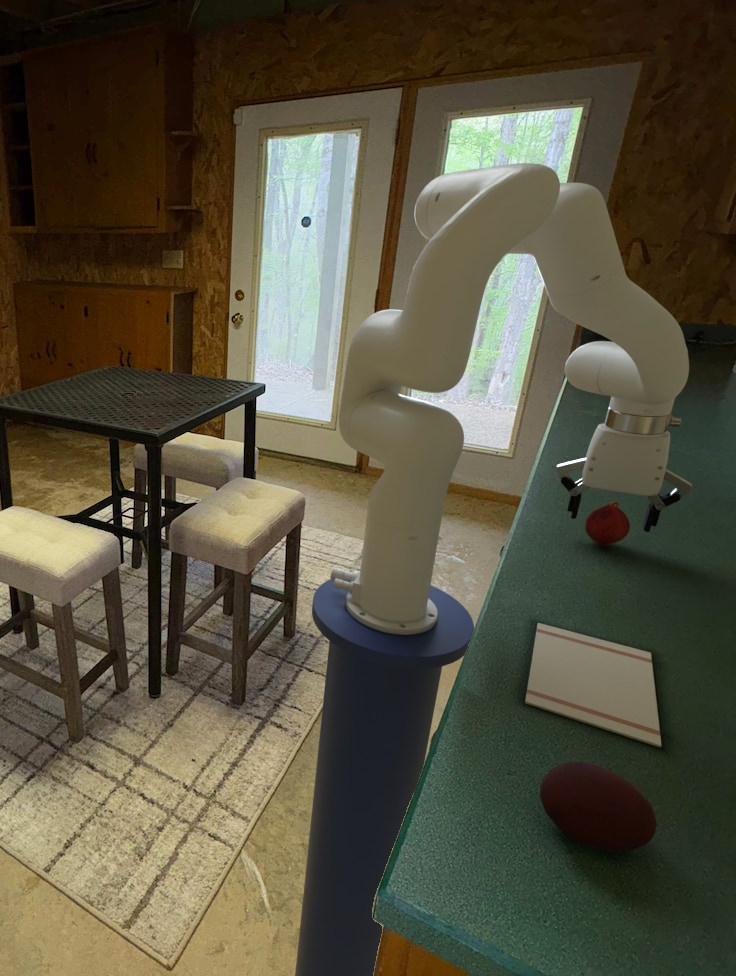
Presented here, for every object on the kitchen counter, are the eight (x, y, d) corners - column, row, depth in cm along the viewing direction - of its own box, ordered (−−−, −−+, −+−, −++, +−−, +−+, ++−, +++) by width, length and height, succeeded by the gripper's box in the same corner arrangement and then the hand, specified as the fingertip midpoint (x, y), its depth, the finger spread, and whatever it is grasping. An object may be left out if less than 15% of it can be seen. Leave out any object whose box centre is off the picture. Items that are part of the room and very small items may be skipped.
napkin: (524, 703, 70) (525, 701, 70) (537, 624, 84) (537, 622, 84) (660, 748, 64) (661, 745, 63) (650, 654, 77) (651, 652, 77)
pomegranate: (602, 556, 100) (615, 510, 97) (571, 540, 105) (582, 497, 102) (631, 551, 101) (645, 506, 98) (599, 535, 107) (611, 492, 104)
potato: (532, 780, 60) (545, 732, 58) (639, 816, 56) (657, 765, 54) (532, 840, 54) (547, 789, 52) (652, 885, 50) (673, 832, 48)
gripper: (706, 422, 94) (674, 525, 100) (569, 409, 103) (548, 503, 109) (713, 436, 88) (679, 543, 94) (567, 420, 97) (545, 519, 104)
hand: (608, 522), depth 102 cm, fingers open, 9 cm apart
